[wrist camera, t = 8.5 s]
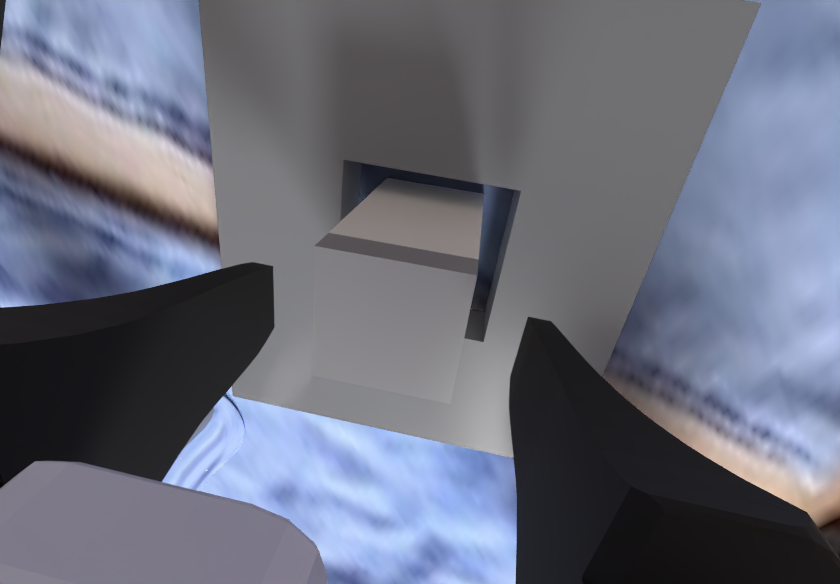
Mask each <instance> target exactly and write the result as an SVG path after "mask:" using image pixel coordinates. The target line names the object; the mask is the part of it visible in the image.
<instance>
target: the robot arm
mask: <svg viewBox="0 0 840 584" xmlns="http://www.w3.org/2000/svg"><path fill="white" fill-rule="evenodd" d="M274 327H275V324H274V281H273V266H270V265H265V264H260V263H255V262H250V263H243V264H239V265H235V266H231V267H227V268H223V269H219V270H216V271H212V272H209V273H205V274H202V275H198V276H195V277H191V278H187V279H184V280H180V281H176V282H172V283H168V284H164V285H160V286H156V287H152V288H148V289H144V290H139V291H134V292H129V293H124V294H119V295H113V296H107V297H102V298H95V299H88V300H80V301H71V302H63V303H54V304H45V305H35V306H21V307H5V308H0V584H328V576H327V573H326V570H325V567H324V564H323V562H322V559H321V556H320V553H319V550H318V548H317V546H316V545H315V543H314V542H313V541H312V540H311V539H310V538H308V537H307V536H306V535H305V534H304V533H303V532H302V531H301V530H300V529H298V528H297V527H296V526H295V525H294V524H293V523H292V522H291V521H290V520H289V519H286V518H284V517H282V516H279V515H277V514H274V513H272V512H270V511H267V510H265V509H263V508H260V507H258V506H255V505H253V504H250V503H246V502H242V501H238V500H234V499H230V498H225V497H221V496H217V495H213V494H209V493H205V492H201V491H197V490H193V489H188V488H184V487H180V486H176V485H172V484H168V483H164V482H162V481H163V479H164V478H165V476H166V475H167V473H168V472H169V470H170V468H171V467H172V465H173V464H174V462H175V460H176V459H177V457H178V456H179V454H180V453H181V451H182V450H183V448H184V447H185V445H186V444H187V442H188V441H189V440H190V438H191V437H192V435H193V434H194V432H195V431H196V429H197V428H198V426H199V425H200V424H201V422H202V421H203V420H204V418H205V417H206V416H207V415H208V413H209V412H210V411H211V410H212V408H213V407H214V406H215V405H216V404H217V403H218V401H219V400H220V399H221V398H222V397H223V396H224V394H225V393H226V392H227V391H228V390H229V388H230V387H231V386H232V385H233V384H234V383H235V381H236V380H237V379H238V378H239V377H240V376H241V374H242V373H243V372H244V371H245V370H246V368H247V367H248V366H249V365H250V364H251V362H252V361H253V360H254V359H255V358H256V356H257V355H258V354H259V352H260V351H261V349H262V348H263V346H264V344H265V343H266V341H267V339H268V338H269V336H270V334H271V333H272V331H273V329H274ZM509 416H510V426H511V436H512V446H513V456H514V465H515V475H516V488H517V554H516V584H840V558H839V556H838V555H837V554H836V552H835V551H834V549H833V548H832V547H831V545H830V544H829V542H828V541H827V540H826V538H825V537H824V535H823V534H822V533H821V531H820V530H819V528H818V527H817V526H816V524H815V523H814V521H813V520H812V519H811V517H810V516H809V514H808V513H807V512H805V511H803V510H801V509H800V508H798V507H796V506H794V505H792V504H790V503H788V502H786V501H784V500H782V499H780V498H778V497H776V496H775V495H773V494H771V493H769V492H767V491H765V490H763V489H761V488H759V487H757V486H755V485H753V484H751V483H750V482H748V481H746V480H744V479H742V478H740V477H739V476H737V475H735V474H733V473H732V472H730V471H728V470H727V469H725V468H723V467H722V466H720V465H718V464H717V463H715V462H713V461H711V460H710V459H708V458H706V457H705V456H703V455H702V454H700V453H699V452H697V451H695V450H694V449H692V448H691V447H689V446H688V445H686V444H685V443H683V442H682V441H680V440H679V439H677V438H676V437H675V436H673V435H672V434H670V433H669V432H667V431H666V430H665V429H663V428H662V427H660V426H659V425H658V424H656V423H655V422H654V421H652V420H651V419H650V418H648V417H647V416H646V415H644V414H643V413H642V412H641V411H640V410H638V409H637V408H636V407H635V406H634V405H632V404H631V403H630V402H629V401H627V400H626V399H625V398H624V397H623V396H622V395H621V394H619V393H618V392H617V391H616V390H615V389H614V388H613V387H612V386H611V385H610V384H609V383H608V382H607V381H606V380H605V379H604V378H603V377H602V376H600V375H599V374H598V373H597V371H596V370H595V369H594V368H593V367H592V366H591V365H590V364H589V363H588V362H587V361H586V360H585V359H584V358H583V357H582V355H581V354H580V353H579V352H578V351H577V350H576V349H575V348H574V346H573V345H572V344H571V343H570V342H569V341H568V340H567V338H566V337H565V336H564V335H563V334H562V333H561V331H560V330H559V329H558V328H557V327H556V326H555V325H554V324H553V323H552V322H551V321H548V320H543V319H538V318H533V317H528V318H527V321H526V325H525V328H524V331H523V335H522V338H521V342H520V345H519V348H518V352H517V355H516V358H515V362H514V365H513V368H512V372H511V375H510V388H509Z"/></svg>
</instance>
